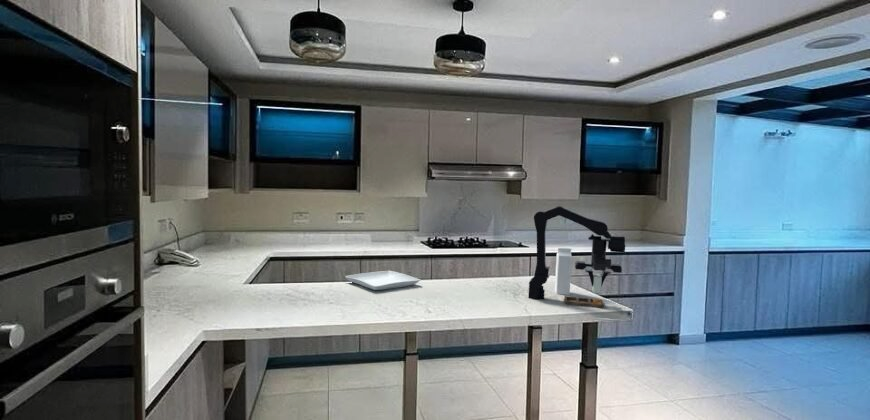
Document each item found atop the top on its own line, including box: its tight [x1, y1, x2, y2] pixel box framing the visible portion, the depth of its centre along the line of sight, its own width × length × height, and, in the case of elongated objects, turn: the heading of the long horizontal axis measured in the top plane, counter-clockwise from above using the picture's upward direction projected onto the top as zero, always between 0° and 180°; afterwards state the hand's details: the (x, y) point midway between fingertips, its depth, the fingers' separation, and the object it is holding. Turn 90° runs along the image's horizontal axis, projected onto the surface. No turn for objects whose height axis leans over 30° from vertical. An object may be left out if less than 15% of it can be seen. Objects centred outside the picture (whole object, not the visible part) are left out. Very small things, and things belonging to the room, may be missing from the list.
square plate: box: [344, 270, 421, 291], centre depth 234 cm, size 27×27×4 cm
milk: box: [554, 247, 573, 296], centre depth 226 cm, size 6×6×22 cm
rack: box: [563, 295, 606, 309], centre depth 208 cm, size 16×11×4 cm, turn 77°
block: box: [591, 273, 602, 294], centre depth 206 cm, size 3×6×7 cm, turn 167°
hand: (596, 286), depth 206 cm, fingers closed on block, 3 cm apart
